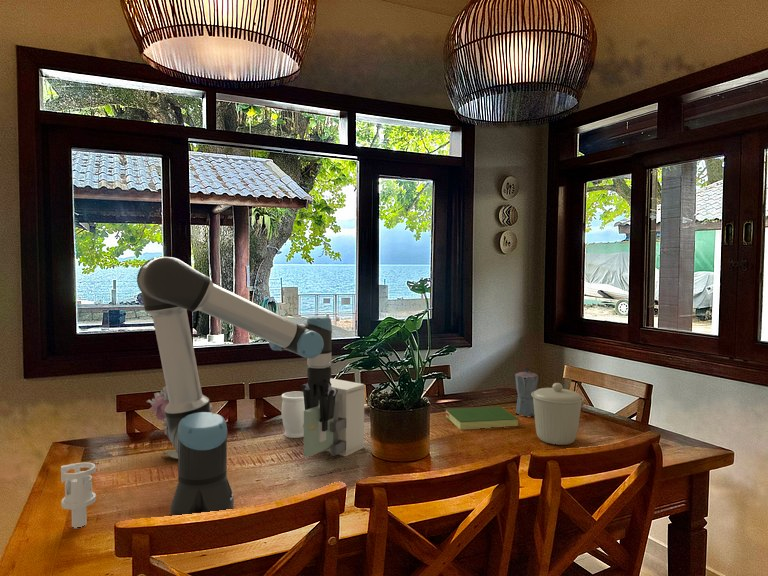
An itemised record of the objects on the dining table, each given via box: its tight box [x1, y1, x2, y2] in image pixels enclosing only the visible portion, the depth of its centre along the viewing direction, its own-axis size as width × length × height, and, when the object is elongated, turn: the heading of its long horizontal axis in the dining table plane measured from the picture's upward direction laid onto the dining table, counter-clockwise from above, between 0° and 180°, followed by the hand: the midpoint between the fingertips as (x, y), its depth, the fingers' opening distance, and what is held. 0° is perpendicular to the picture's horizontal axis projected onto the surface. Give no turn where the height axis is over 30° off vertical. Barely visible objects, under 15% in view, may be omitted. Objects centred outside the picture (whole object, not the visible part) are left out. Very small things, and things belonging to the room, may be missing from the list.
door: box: [303, 401, 339, 458], centre depth 164 cm, size 15×4×14 cm, turn 146°
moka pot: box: [514, 367, 539, 417], centre depth 220 cm, size 10×15×20 cm, turn 163°
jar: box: [281, 390, 305, 439], centre depth 190 cm, size 11×10×15 cm
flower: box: [146, 385, 213, 460], centre depth 171 cm, size 20×22×25 cm
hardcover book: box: [444, 405, 519, 431], centre depth 210 cm, size 25×19×4 cm
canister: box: [531, 382, 585, 446], centre depth 188 cm, size 18×18×21 cm
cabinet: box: [318, 377, 366, 457], centre depth 176 cm, size 16×17×22 cm
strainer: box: [60, 461, 97, 529], centre depth 123 cm, size 7×7×15 cm
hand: (319, 439), depth 163 cm, fingers closed on door, 2 cm apart
